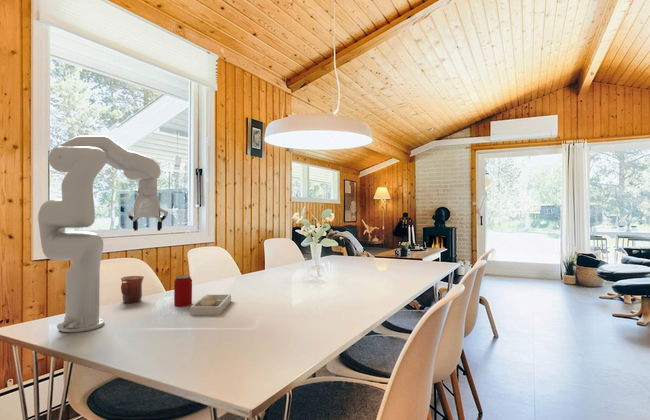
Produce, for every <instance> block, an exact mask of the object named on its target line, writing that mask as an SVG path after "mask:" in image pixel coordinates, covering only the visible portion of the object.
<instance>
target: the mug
mask: <svg viewBox="0 0 650 420" xmlns="http://www.w3.org/2000/svg"><path fill="white" fill-rule="evenodd" d="M144 278H145V276H143V275H129V276H122V277H120V280H121V281H120V282H121V285H120V291H121V295H122V302H123V303H125V304H134V303H135V302H136V303H139V302H140V301H141V300H142V297H143V281H144Z"/></svg>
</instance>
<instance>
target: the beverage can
mask: <svg viewBox="0 0 650 420" xmlns="http://www.w3.org/2000/svg"><path fill="white" fill-rule="evenodd" d="M173 283H174V287H173V288H174V289H173V291H174V293H173V296H174V297H173V298H174V299H173V305H174V307H179V308H181V307H188V306H189V307H190V306H192V305H193V300H192V299H193V279H192V277H191V276H190V275H178V276H176V278H175V279H174V282H173Z"/></svg>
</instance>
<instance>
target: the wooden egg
mask: <svg viewBox="0 0 650 420" xmlns="http://www.w3.org/2000/svg"><path fill="white" fill-rule="evenodd" d="M206 295H207V296H205V295H204V296H205V297H203V296H202V297H203V298H202V297H201V298H202V300H201V306H216V305H217V300H216V298H215V297H214V296H212V295H213V294H206Z"/></svg>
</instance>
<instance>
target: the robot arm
mask: <svg viewBox="0 0 650 420" xmlns="http://www.w3.org/2000/svg"><path fill="white" fill-rule="evenodd" d="M48 164H49V165H50V167H51V168H52V169H54V170H55V171H56V172H61V173H66V174H65V176H64V178H63V179H62V182H61V186H60V187H61V199H60V198H58V199H48V200H46V201H45V202H44V203H42V205H41V206H40V207H39V210H38V215H37V219H38V220H37V221H38V228H39V236H40V244H41V249H42V253H43V255H44V256H45V257H46V258H47V259H48V260H52V261H70V262H71V261H72V263H71V264H70V265H69V267H68V269H67V271H66V273H65V308H64V309H65V310H64V311H65V313H64V314H65V317H64V319H63V321H62V322H60V323H58V324H57V325H56V328H57V330H58V331H60V332H62V333H63V332H64V333H80V332H87V331H91V330H95V329H98V328H101V327H103V326H104V325H105V320H104V319H103V318H101V317H100V286H101V285H100V280H101V279H100V272H101V271H100V270H101V269H100V268H101V261H102V254H103V251H104V240H103V238H102V237H101V236H100V235H99V234H98V233H95V232H92V231H66V229H86V228H90V227H91V226H93V225H94V223H95V220H96V213H95V201H94V191H93V190H94V187H93V186H94V182H95V180H96V177H97V176H98V175H99V173H100V172H101V171H102V169H103V168H104V167H105V165H106V164H107V165H109V166H110V167H112V168H113V169H116V170H120V171H123V174H124V176H125V178H126V179H129V180H131V181H132V180H133V181H138V188H137V189H135V190H134V193H136V194H137V195H136V196H135V201H134V208H132V209H130V210H128V211H126V213H125V214H126V215H127V217H128V218H129V220H131V221H132V229H133V231H134V232H137V231H138V229H139V228H138V227H139V226H138V225H139V222H138V220H139V218H142V219H144V218H146V219H147V218H154V219H155V218H156V220H157V223H156V224H157V231H162V229H163V222H164V220H166V219H167V217H168V215H169V211H167V210H164V209H163V208H161V202H160V197H159V195H158V179H159V178H160V176H161V172H162V171H161V167H160V165H159V164H158V162H156V161H155V160H154V159H152V158H151V157H149V156H146V155H144V154H141V153H139V152H135V151H132V150H128V149H126V148H125V147H124V146H122V145H121V144H120V143H118V142H116V141H115V140H114V139H112V138H111V137H109V136H106V135H87V134H86V135H78V136H75V137H73V138H70V139H68V140H67V141H64V142H62V143H60V144H58V145H57V146H54V147H53V148H52V149H51V150H50V152H49V153H48ZM132 213H133V215H134V216H133V215H132ZM161 213H163V215H162V216H161Z"/></svg>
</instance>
